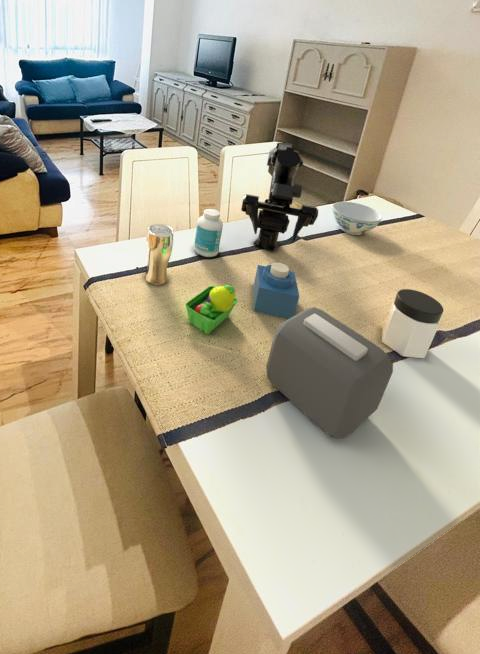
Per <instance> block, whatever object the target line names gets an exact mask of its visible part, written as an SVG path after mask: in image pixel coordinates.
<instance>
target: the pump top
mask: <svg viewBox="0 0 480 654" xmlns="http://www.w3.org/2000/svg"><path fill="white" fill-rule="evenodd" d="M271 265H272V266H271V270H270V273H271V274H272V275H273V276H275V277H277V278H282V279H284V278H287V276H288V272H289V270H290V268H289V266H288V265H286V264H284V263H282V262H273V263H271Z"/></svg>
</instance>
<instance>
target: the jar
mask: <svg viewBox="0 0 480 654" xmlns="http://www.w3.org/2000/svg"><path fill="white" fill-rule="evenodd" d="M443 313H444V307H443V305H442V303H440V302H439V301H438V300H437V299H435V298H434V297H432V296H430V295H429V294H427V293H424V292H422V291H419V290H416V289H410V288H402V289H400V290H398V291H397V293H396V296H395V298H393V301H392V303H391V306H390V308H389V311H388V314H387V317H386V319H385V322H384V324H383V327H382V332H381V342H382V343H383V344H385V345H386V346H388V347H389V348H390V349H391V350H393V351H394V352H396V353H397V354H399V355H400V356H402V357H406V358H416V359H425V358H426V357H427V354H428V351H429V349H430V346H431V344H432V342H433V340H434V338H435V336H436V333H437V331H438V329H439V327H440V320H441V318H442V315H443Z"/></svg>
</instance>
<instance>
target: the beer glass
mask: <svg viewBox="0 0 480 654" xmlns="http://www.w3.org/2000/svg"><path fill="white" fill-rule="evenodd" d="M173 247H174V229H173V228H172V227H171V226H169V225H167V224H164V223H163V224H162V223H154V224H151V225H149V227H148V228H147V234H146V240H145V254H146V263H147V264H146V265H147V266H146V271H145V274H144V280H145V281H146V282H148V284H150V285H153V286H162V285H165V284H166V283H167V282H168V265H169V262H170V260H171V259H170V258H171V256H172V253H173Z"/></svg>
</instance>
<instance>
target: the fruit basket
mask: <svg viewBox="0 0 480 654" xmlns="http://www.w3.org/2000/svg"><path fill="white" fill-rule="evenodd" d="M237 303H238V299H237V298H236V288H234V286H233V285H230V284H226V285H218V286H214V285H209V286H208V287H206V288H205V289H204V290H203V291H201V292H200V293H198V294H197V295H195V296H194V297H192V298H191V299H190V300H189V301H187V302H185V309H186V311H187V316H188V322H189V324H191V325H193V326H194V327H195V328H197V329H198V330H200V331H201V332H204V333H205V334H206V335H209V334H210V333H212V331H213V330H215V329H216V328H218V326H219V325H221V324H222V322H224V320H226V319H227V318H228V317H229V316H230V314H231V313H232V310H234V308H235V306H236V305H237Z"/></svg>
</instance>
